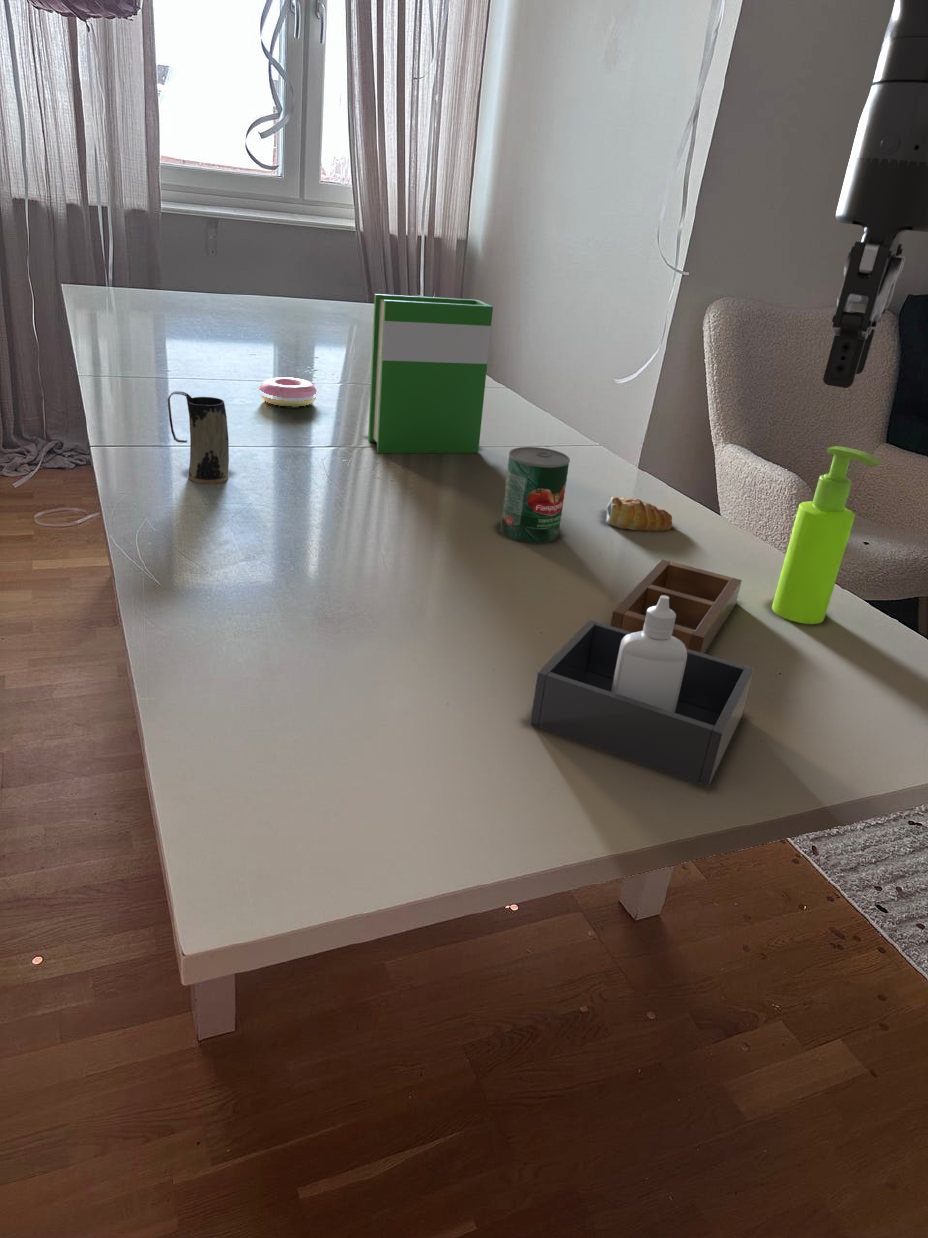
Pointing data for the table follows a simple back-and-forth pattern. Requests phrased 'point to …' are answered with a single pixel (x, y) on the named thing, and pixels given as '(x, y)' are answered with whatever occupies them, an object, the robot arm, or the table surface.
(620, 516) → the pastry
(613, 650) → the dark grey open box
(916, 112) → the robot arm
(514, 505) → the canned tomato
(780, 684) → the table surface
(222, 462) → the mug
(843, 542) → the soap dispenser
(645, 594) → the tray
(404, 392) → the hardback book
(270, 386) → the doughnut
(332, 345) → the table surface
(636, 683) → the eye dropper bottle
